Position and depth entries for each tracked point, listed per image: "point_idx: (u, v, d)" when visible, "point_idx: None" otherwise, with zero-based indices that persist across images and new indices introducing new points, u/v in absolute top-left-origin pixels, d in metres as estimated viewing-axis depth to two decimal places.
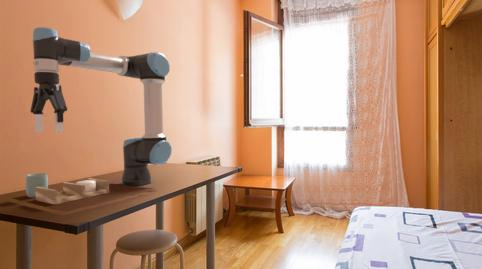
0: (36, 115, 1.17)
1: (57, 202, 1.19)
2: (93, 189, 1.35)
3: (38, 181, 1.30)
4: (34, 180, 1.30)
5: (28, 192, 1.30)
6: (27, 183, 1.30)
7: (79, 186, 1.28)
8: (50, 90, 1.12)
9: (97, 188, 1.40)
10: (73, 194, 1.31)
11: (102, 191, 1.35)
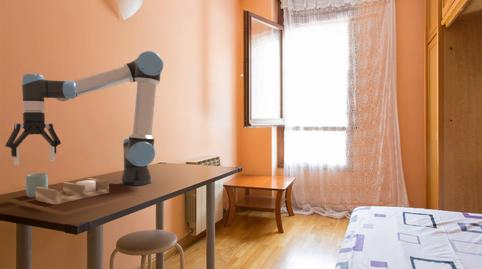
0: (49, 147, 1.39)
1: (57, 202, 1.19)
2: (93, 189, 1.35)
3: (38, 181, 1.30)
4: (34, 180, 1.30)
5: (28, 192, 1.30)
6: (27, 183, 1.30)
7: (79, 186, 1.28)
8: None
9: (97, 188, 1.40)
10: (73, 194, 1.31)
11: (102, 191, 1.35)
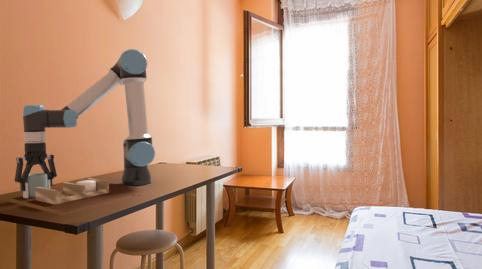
0: None
1: (57, 202, 1.19)
2: (93, 189, 1.35)
3: (38, 181, 1.30)
4: (34, 180, 1.30)
5: (28, 192, 1.30)
6: None
7: (79, 186, 1.28)
8: None
9: (97, 188, 1.40)
10: (73, 194, 1.31)
11: (102, 191, 1.35)
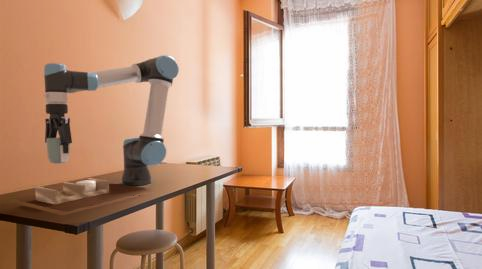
0: None
1: (57, 202, 1.19)
2: (93, 189, 1.35)
3: None
4: None
5: None
6: None
7: (79, 186, 1.28)
8: (59, 120, 1.23)
9: (97, 188, 1.40)
10: (73, 194, 1.31)
11: (102, 191, 1.35)
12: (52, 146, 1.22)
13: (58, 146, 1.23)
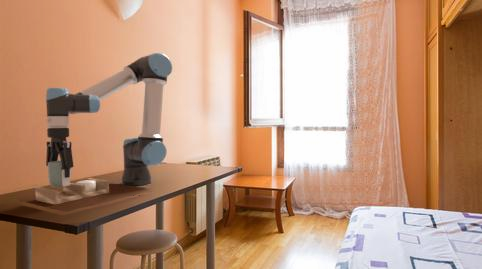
0: None
1: (57, 202, 1.19)
2: (93, 189, 1.35)
3: None
4: None
5: None
6: None
7: (79, 186, 1.28)
8: (61, 144, 1.24)
9: (97, 188, 1.40)
10: (73, 194, 1.31)
11: (102, 191, 1.35)
12: (53, 170, 1.22)
13: (59, 170, 1.23)
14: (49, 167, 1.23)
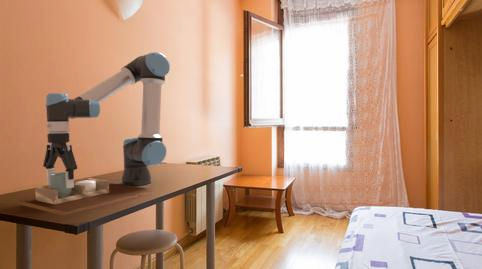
0: (48, 170, 1.29)
1: (57, 202, 1.19)
2: (93, 189, 1.35)
3: None
4: None
5: (68, 191, 1.25)
6: None
7: (79, 186, 1.28)
8: (62, 149, 1.23)
9: (97, 188, 1.40)
10: (73, 194, 1.31)
11: (102, 191, 1.35)
12: (54, 183, 1.22)
13: (61, 183, 1.23)
14: (50, 180, 1.23)
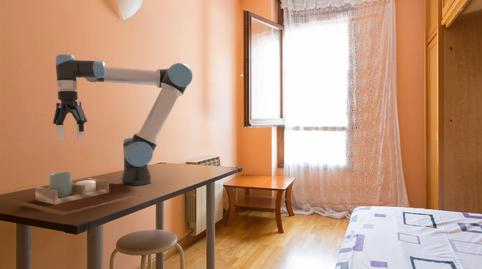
0: (58, 126, 1.42)
1: (57, 202, 1.19)
2: (93, 189, 1.35)
3: None
4: (71, 177, 1.28)
5: (68, 191, 1.25)
6: (68, 181, 1.25)
7: (79, 186, 1.28)
8: (72, 105, 1.37)
9: (97, 188, 1.40)
10: (73, 194, 1.31)
11: (102, 191, 1.35)
12: (54, 183, 1.22)
13: (61, 183, 1.23)
14: (50, 180, 1.23)
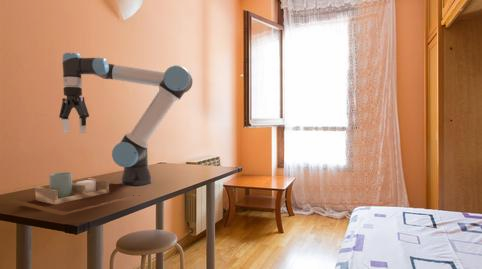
0: (64, 120, 1.51)
1: (57, 202, 1.19)
2: (93, 189, 1.35)
3: None
4: (71, 177, 1.28)
5: (68, 191, 1.25)
6: (68, 181, 1.25)
7: (79, 186, 1.28)
8: (76, 101, 1.46)
9: (97, 188, 1.40)
10: (73, 194, 1.31)
11: (102, 191, 1.35)
12: (54, 183, 1.22)
13: (61, 183, 1.23)
14: (50, 180, 1.23)
